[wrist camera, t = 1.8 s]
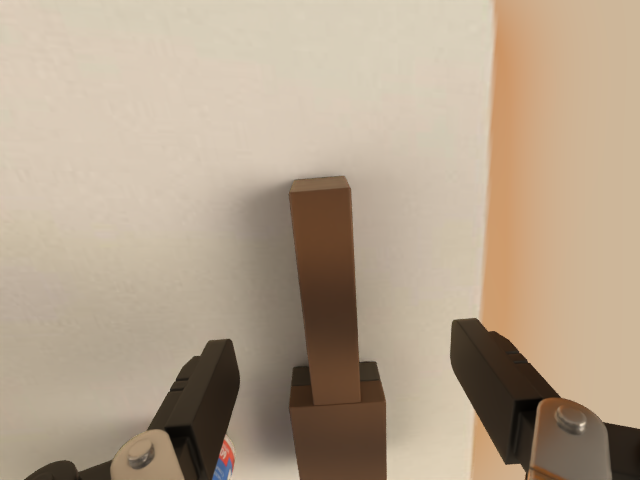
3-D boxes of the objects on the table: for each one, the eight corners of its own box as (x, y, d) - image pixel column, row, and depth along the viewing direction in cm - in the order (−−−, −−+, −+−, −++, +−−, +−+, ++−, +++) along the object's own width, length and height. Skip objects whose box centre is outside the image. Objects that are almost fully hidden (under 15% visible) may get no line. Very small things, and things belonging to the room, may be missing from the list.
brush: (378, 452, 19) (387, 499, 17) (305, 456, 19) (303, 504, 17) (372, 173, 13) (384, 184, 11) (266, 181, 14) (255, 194, 11)
